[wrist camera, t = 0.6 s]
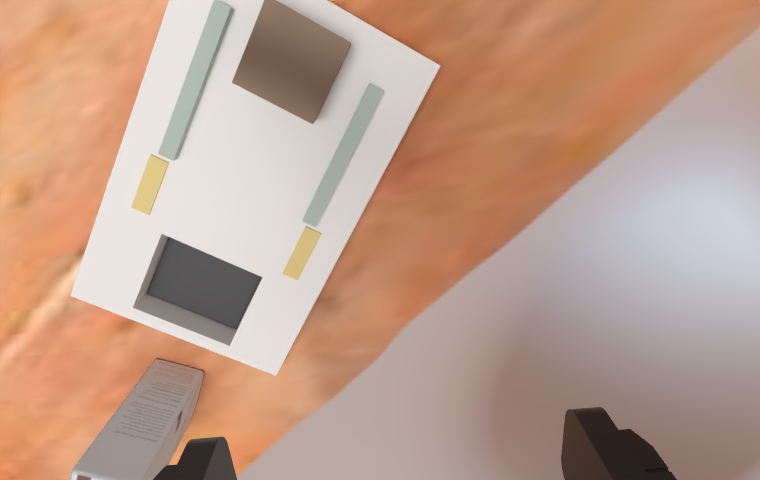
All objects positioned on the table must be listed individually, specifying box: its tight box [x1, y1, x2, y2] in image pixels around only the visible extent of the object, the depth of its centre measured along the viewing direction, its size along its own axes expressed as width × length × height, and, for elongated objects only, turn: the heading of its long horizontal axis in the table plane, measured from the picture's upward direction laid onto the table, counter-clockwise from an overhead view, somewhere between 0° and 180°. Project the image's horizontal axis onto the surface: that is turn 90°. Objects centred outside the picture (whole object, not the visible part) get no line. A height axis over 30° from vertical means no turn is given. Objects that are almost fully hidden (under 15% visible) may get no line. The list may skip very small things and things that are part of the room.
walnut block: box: [232, 0, 351, 124], centre depth 27 cm, size 5×5×3 cm
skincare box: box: [70, 359, 204, 480], centre depth 34 cm, size 6×4×12 cm
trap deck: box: [70, 0, 440, 376], centre depth 32 cm, size 26×16×3 cm, turn 152°
